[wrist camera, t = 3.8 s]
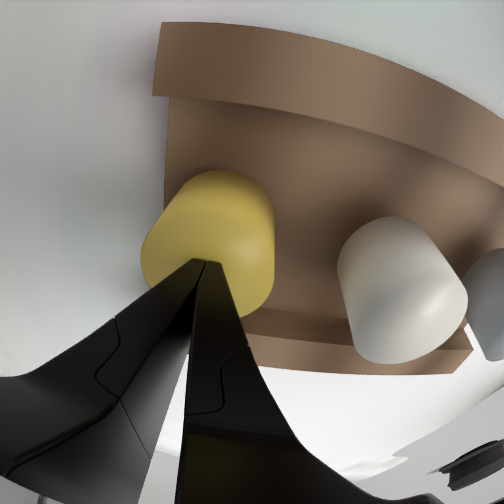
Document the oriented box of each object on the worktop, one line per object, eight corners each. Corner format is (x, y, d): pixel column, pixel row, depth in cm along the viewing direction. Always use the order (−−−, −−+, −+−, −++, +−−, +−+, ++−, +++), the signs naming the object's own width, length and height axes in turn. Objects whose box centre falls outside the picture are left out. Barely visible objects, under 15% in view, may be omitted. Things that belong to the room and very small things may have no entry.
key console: (535, 154, 9) (570, 176, 7) (437, 342, 17) (449, 376, 15) (188, 33, 9) (161, 22, 6) (172, 310, 17) (157, 350, 14)
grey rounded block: (526, 255, 10) (561, 298, 7) (489, 313, 12) (514, 359, 9) (483, 240, 10) (524, 290, 7) (443, 309, 12) (469, 363, 9)
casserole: (419, 470, 44) (424, 500, 37) (488, 434, 34) (496, 467, 27) (464, 462, 49) (469, 486, 42) (517, 430, 39) (524, 455, 32)
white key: (444, 228, 10) (487, 283, 7) (404, 304, 12) (428, 364, 9) (356, 205, 10) (387, 264, 7) (323, 293, 12) (334, 361, 9)
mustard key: (284, 179, 10) (288, 225, 8) (264, 269, 13) (260, 329, 10) (174, 163, 10) (137, 200, 7) (171, 253, 12) (145, 308, 10)
